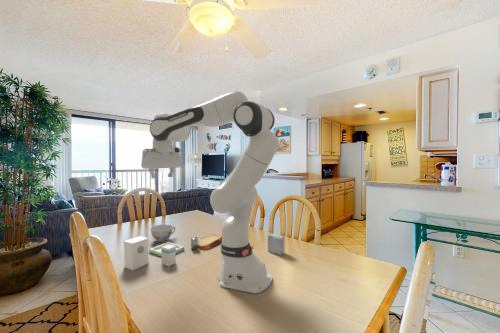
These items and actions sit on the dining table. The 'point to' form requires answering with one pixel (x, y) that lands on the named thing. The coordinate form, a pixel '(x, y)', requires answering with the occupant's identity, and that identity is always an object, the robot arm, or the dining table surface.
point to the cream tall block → (136, 252)
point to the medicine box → (276, 244)
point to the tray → (157, 249)
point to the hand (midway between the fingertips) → (162, 177)
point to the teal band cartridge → (168, 254)
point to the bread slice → (209, 241)
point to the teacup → (162, 232)
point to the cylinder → (194, 243)
